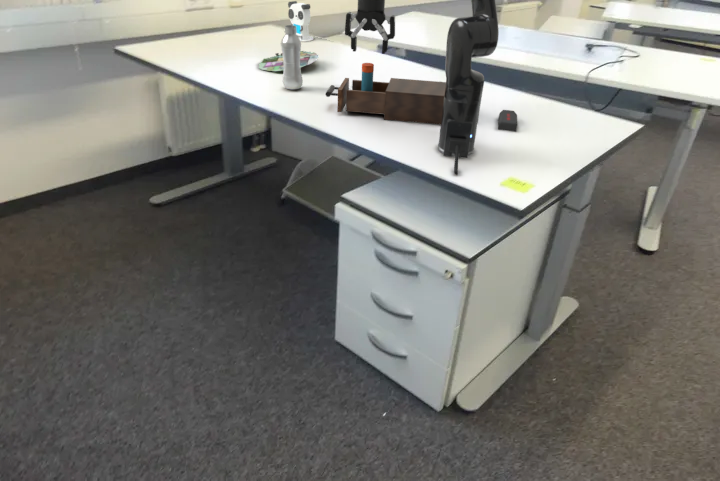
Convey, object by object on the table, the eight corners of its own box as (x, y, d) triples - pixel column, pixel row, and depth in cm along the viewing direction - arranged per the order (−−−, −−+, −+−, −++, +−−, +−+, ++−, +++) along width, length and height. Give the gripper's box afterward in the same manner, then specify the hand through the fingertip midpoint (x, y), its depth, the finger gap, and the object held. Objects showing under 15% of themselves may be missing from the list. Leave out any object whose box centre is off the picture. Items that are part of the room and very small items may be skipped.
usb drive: (497, 129, 157) (499, 120, 156) (498, 115, 167) (500, 107, 165) (516, 131, 156) (518, 122, 155) (515, 117, 166) (517, 109, 165)
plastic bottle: (303, 91, 181) (302, 28, 170) (283, 91, 180) (280, 28, 169) (302, 85, 186) (300, 24, 175) (282, 86, 185) (279, 24, 174)
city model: (253, 63, 214) (250, 48, 211) (311, 53, 219) (309, 38, 216) (264, 83, 195) (261, 66, 191) (327, 71, 200) (325, 55, 196)
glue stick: (371, 106, 165) (373, 66, 158) (359, 105, 165) (361, 65, 159) (372, 102, 168) (374, 63, 161) (361, 101, 168) (362, 62, 161)
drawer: (323, 110, 163) (323, 88, 159) (331, 98, 173) (331, 76, 170) (395, 117, 161) (397, 94, 157) (399, 103, 171) (401, 82, 167)
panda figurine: (282, 37, 245) (280, 1, 237) (302, 34, 251) (301, -1, 243) (298, 42, 238) (297, 6, 229) (318, 39, 244) (318, 3, 236)
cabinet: (383, 119, 161) (385, 91, 156) (389, 104, 172) (390, 77, 168) (446, 125, 159) (450, 96, 154) (447, 109, 170) (451, 82, 165)
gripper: (343, -8, 147) (342, 53, 156) (395, -5, 145) (391, 57, 154) (348, -12, 153) (347, 47, 162) (398, -9, 151) (394, 50, 160)
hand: (369, 52), depth 158 cm, fingers open, 8 cm apart
